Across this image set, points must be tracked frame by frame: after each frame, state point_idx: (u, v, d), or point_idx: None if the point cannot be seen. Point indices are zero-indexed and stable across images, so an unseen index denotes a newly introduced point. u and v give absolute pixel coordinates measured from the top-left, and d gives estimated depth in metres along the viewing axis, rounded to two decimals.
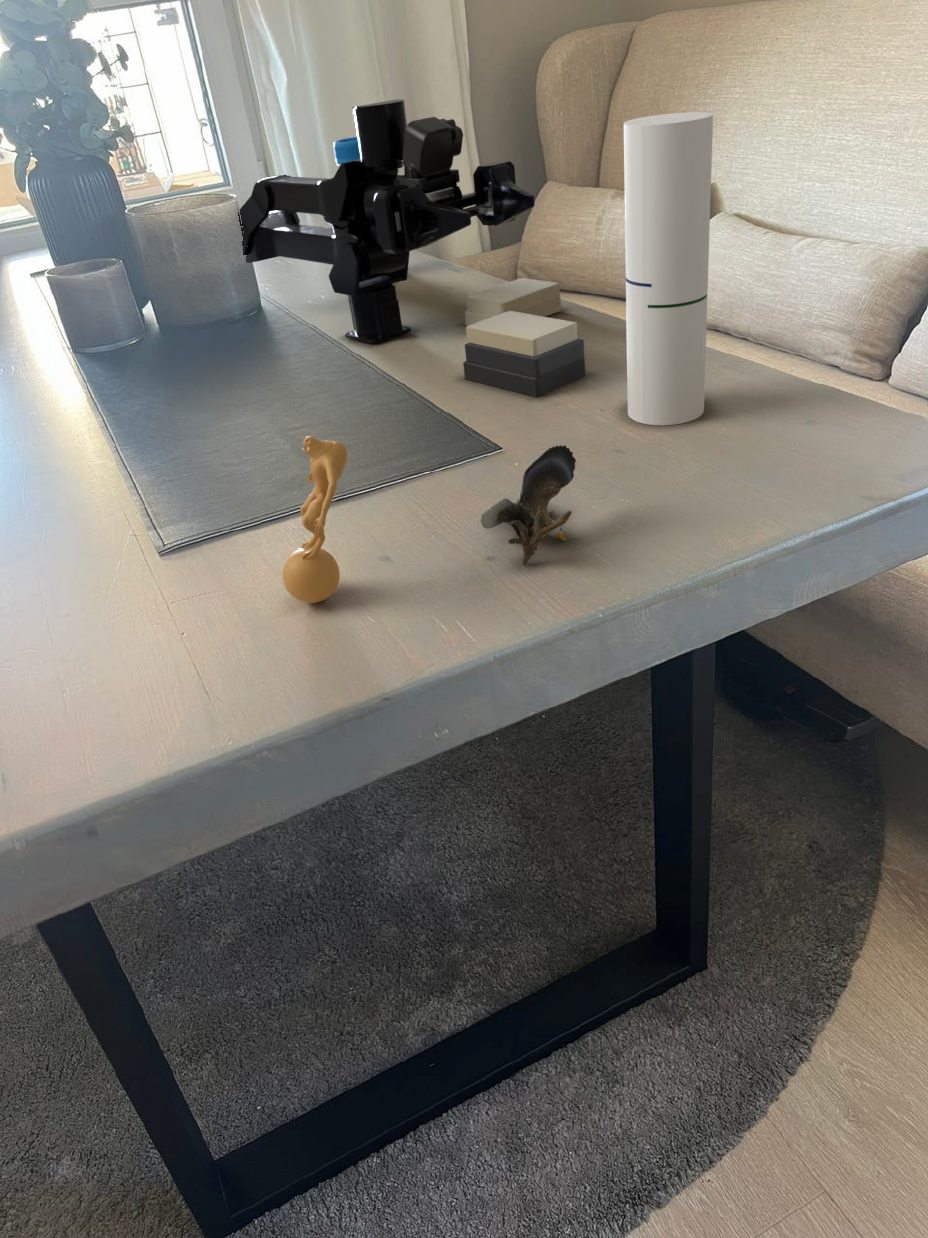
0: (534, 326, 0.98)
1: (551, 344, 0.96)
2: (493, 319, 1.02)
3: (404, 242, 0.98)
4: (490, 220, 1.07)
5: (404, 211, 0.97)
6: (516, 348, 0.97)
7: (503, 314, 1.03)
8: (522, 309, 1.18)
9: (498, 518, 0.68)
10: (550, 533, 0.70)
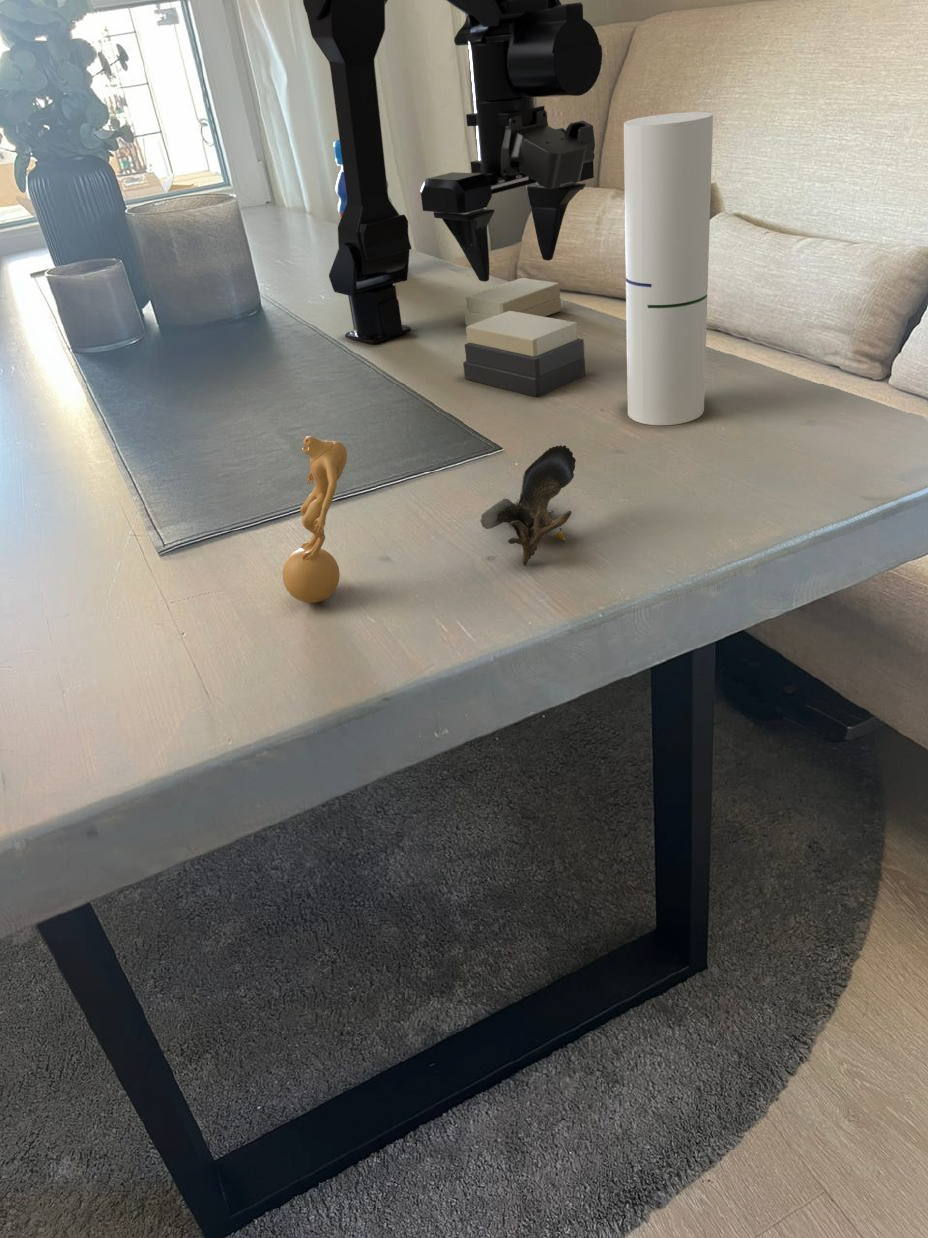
0: (534, 326, 0.98)
1: (551, 344, 0.96)
2: (493, 319, 1.02)
3: (437, 215, 0.90)
4: None
5: None
6: (516, 348, 0.97)
7: (503, 314, 1.03)
8: (522, 309, 1.18)
9: (498, 518, 0.68)
10: (550, 533, 0.70)
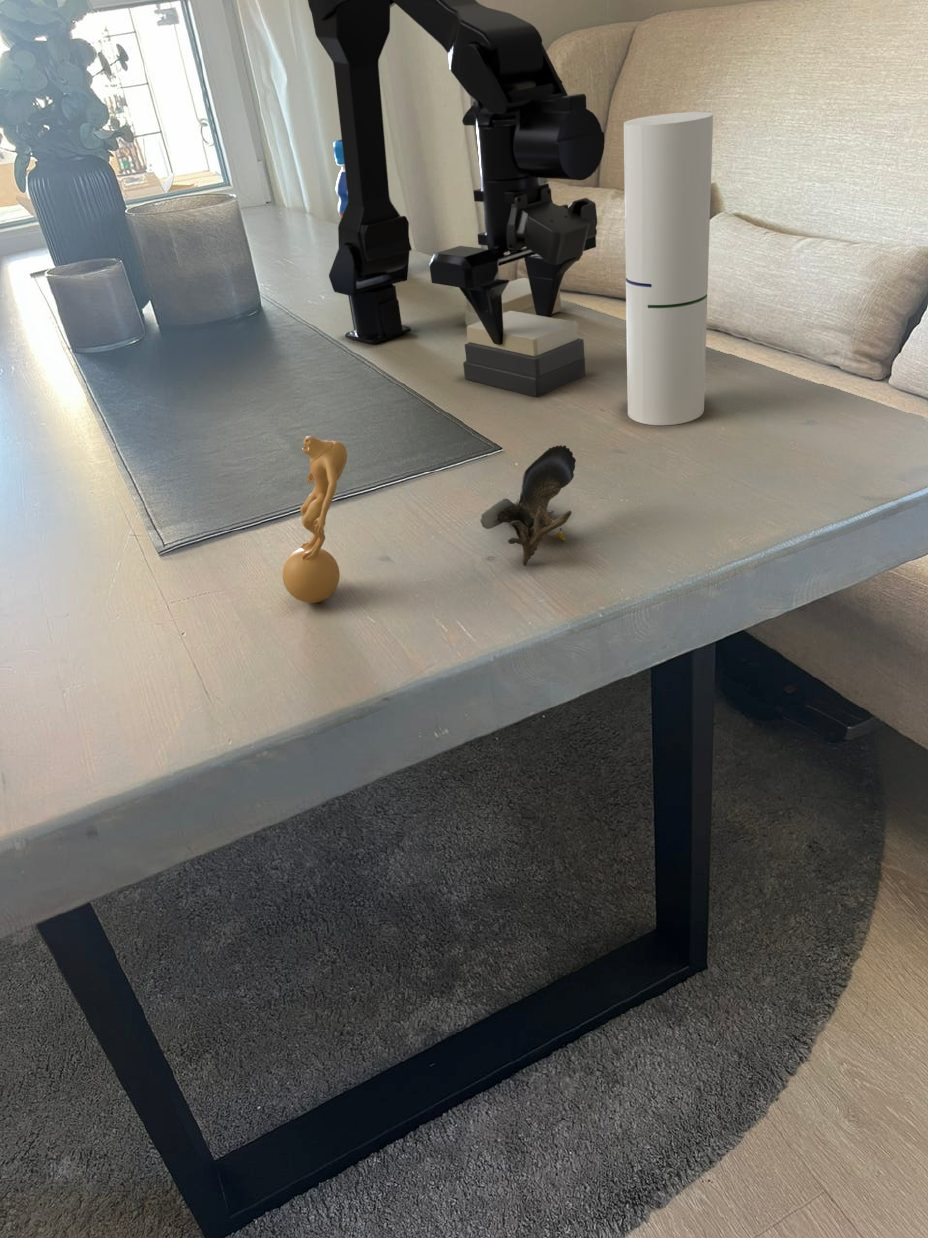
0: (535, 326, 0.98)
1: (551, 344, 0.96)
2: None
3: None
4: None
5: None
6: (516, 348, 0.97)
7: (504, 314, 1.03)
8: (522, 309, 1.18)
9: (498, 518, 0.68)
10: (550, 533, 0.70)
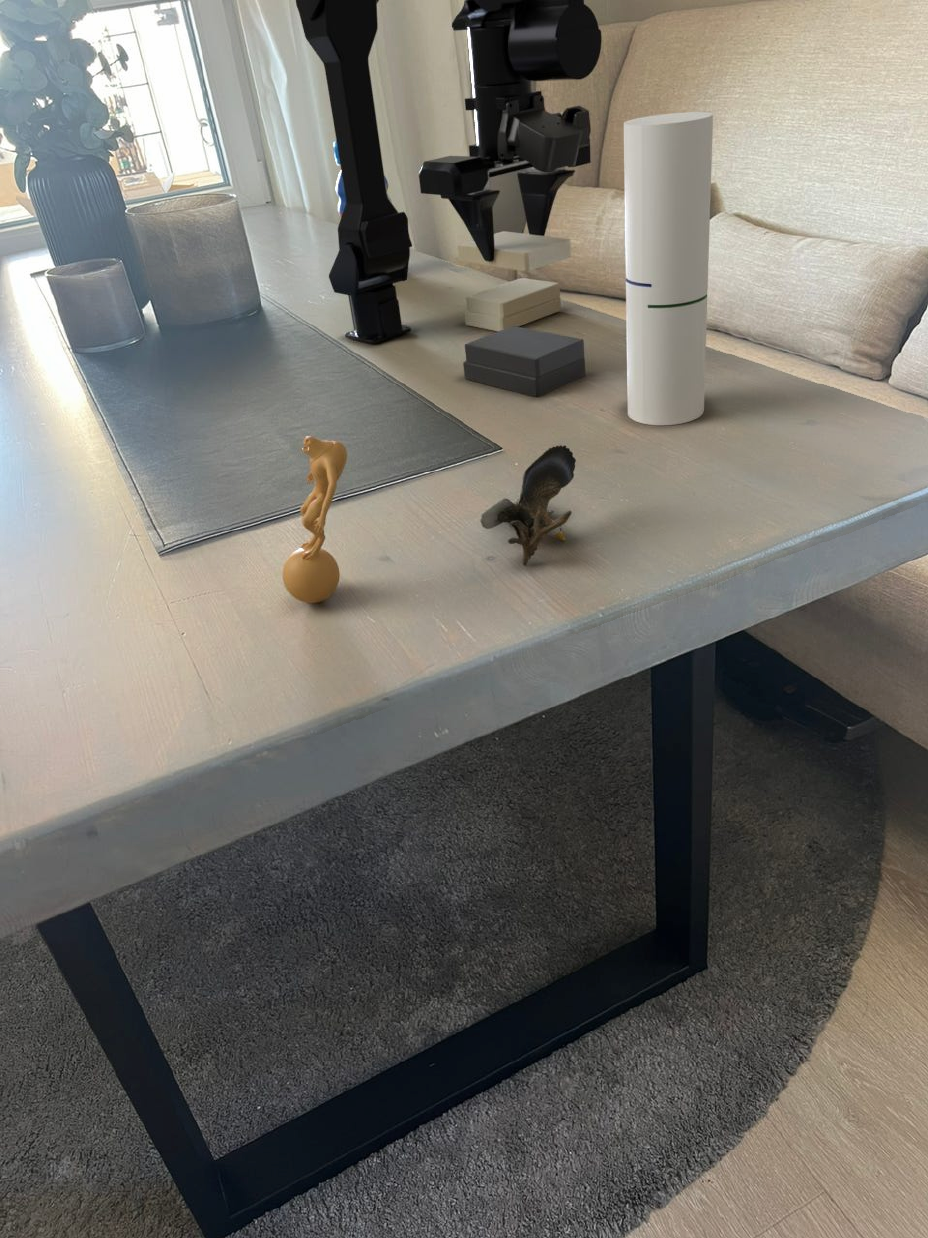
0: (527, 243, 0.96)
1: (543, 260, 0.94)
2: None
3: (443, 195, 0.92)
4: None
5: None
6: (508, 264, 0.95)
7: (496, 234, 1.01)
8: (522, 309, 1.18)
9: (498, 518, 0.68)
10: (550, 533, 0.70)
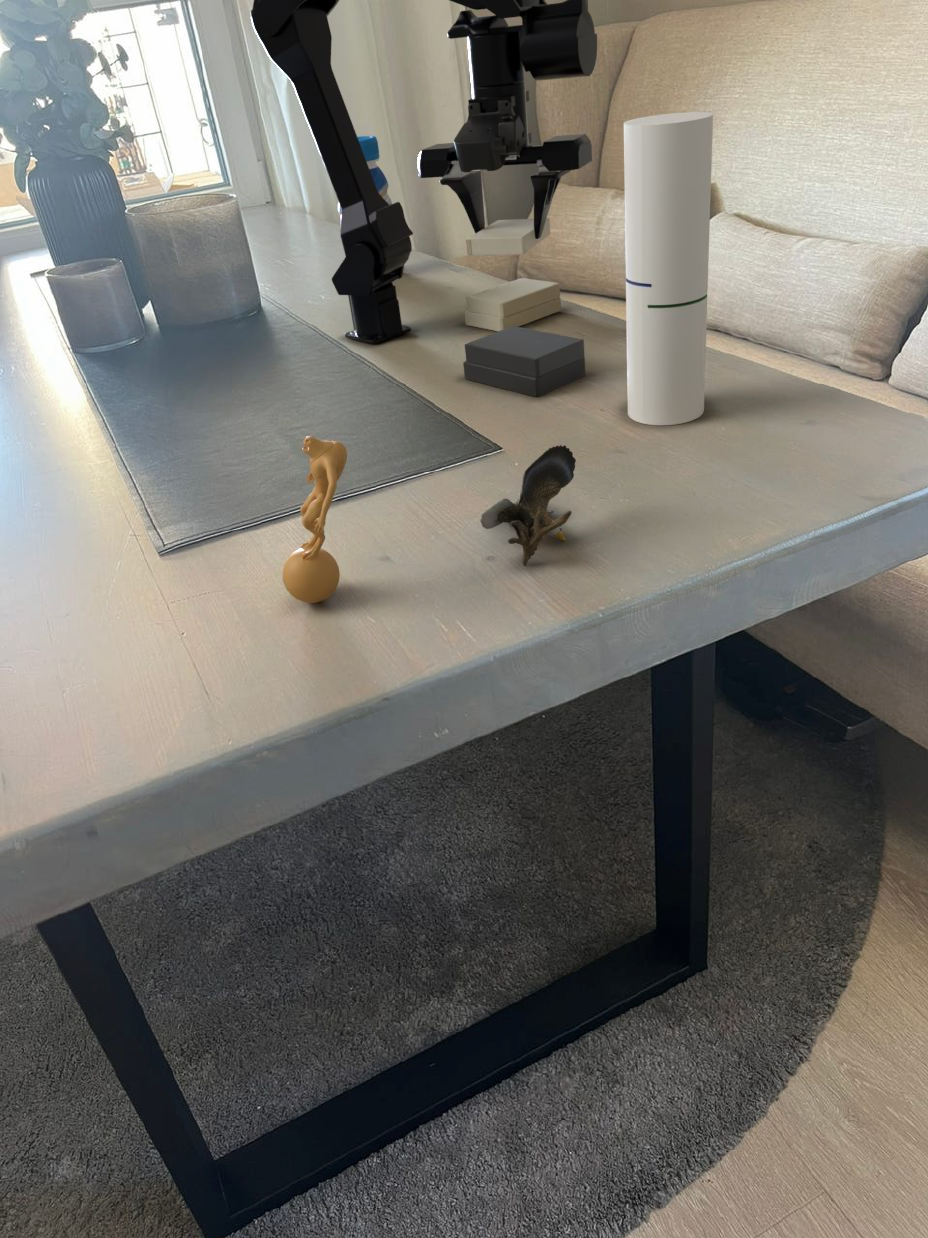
0: (502, 232, 1.06)
1: (488, 249, 1.05)
2: (519, 220, 1.11)
3: None
4: None
5: None
6: None
7: None
8: (522, 309, 1.18)
9: (498, 518, 0.68)
10: (550, 533, 0.70)
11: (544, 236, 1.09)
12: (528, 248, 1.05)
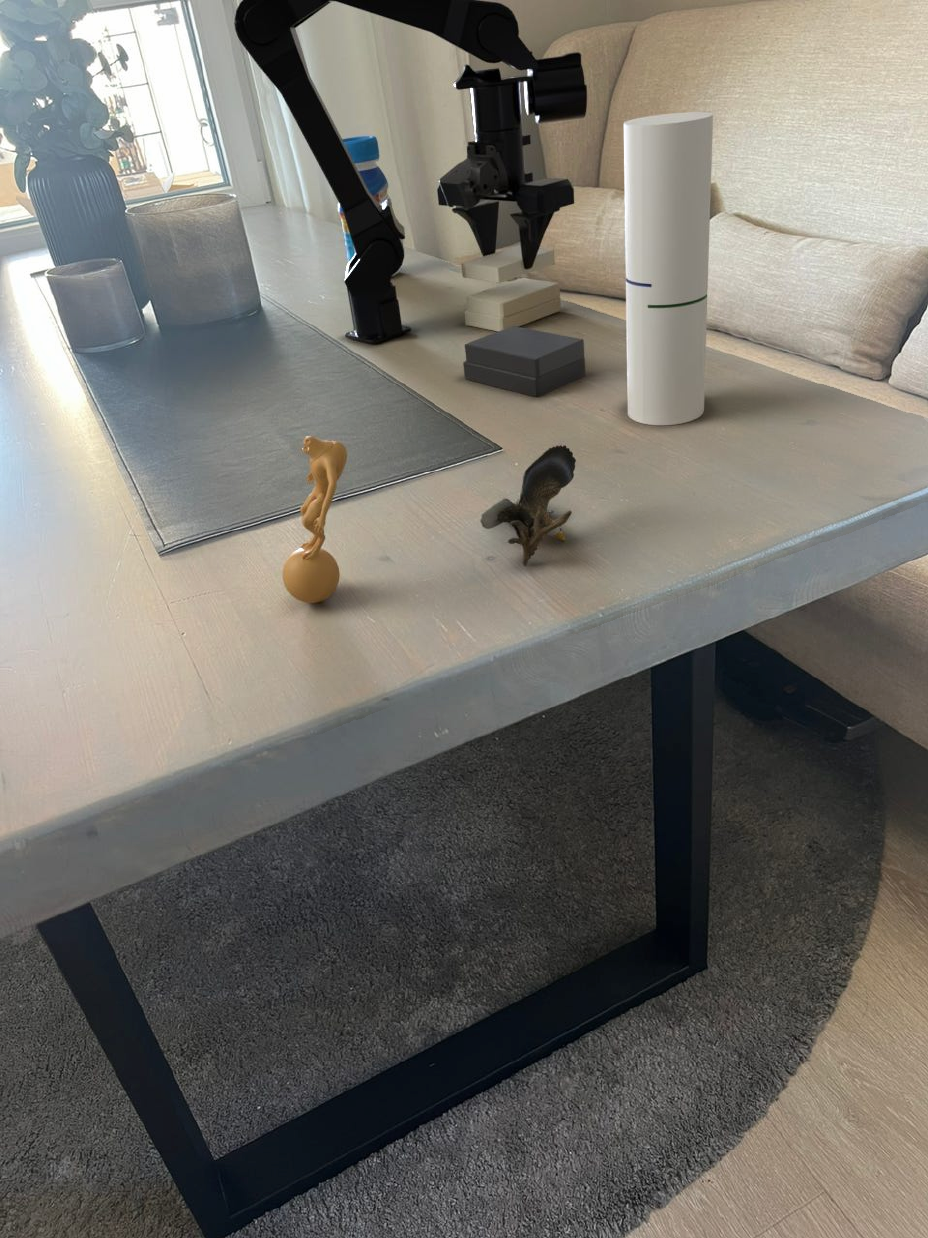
0: (495, 259, 1.18)
1: (476, 275, 1.17)
2: None
3: None
4: None
5: None
6: None
7: (543, 249, 1.20)
8: (522, 309, 1.18)
9: (498, 518, 0.68)
10: (550, 533, 0.70)
11: (542, 266, 1.19)
12: (510, 277, 1.16)
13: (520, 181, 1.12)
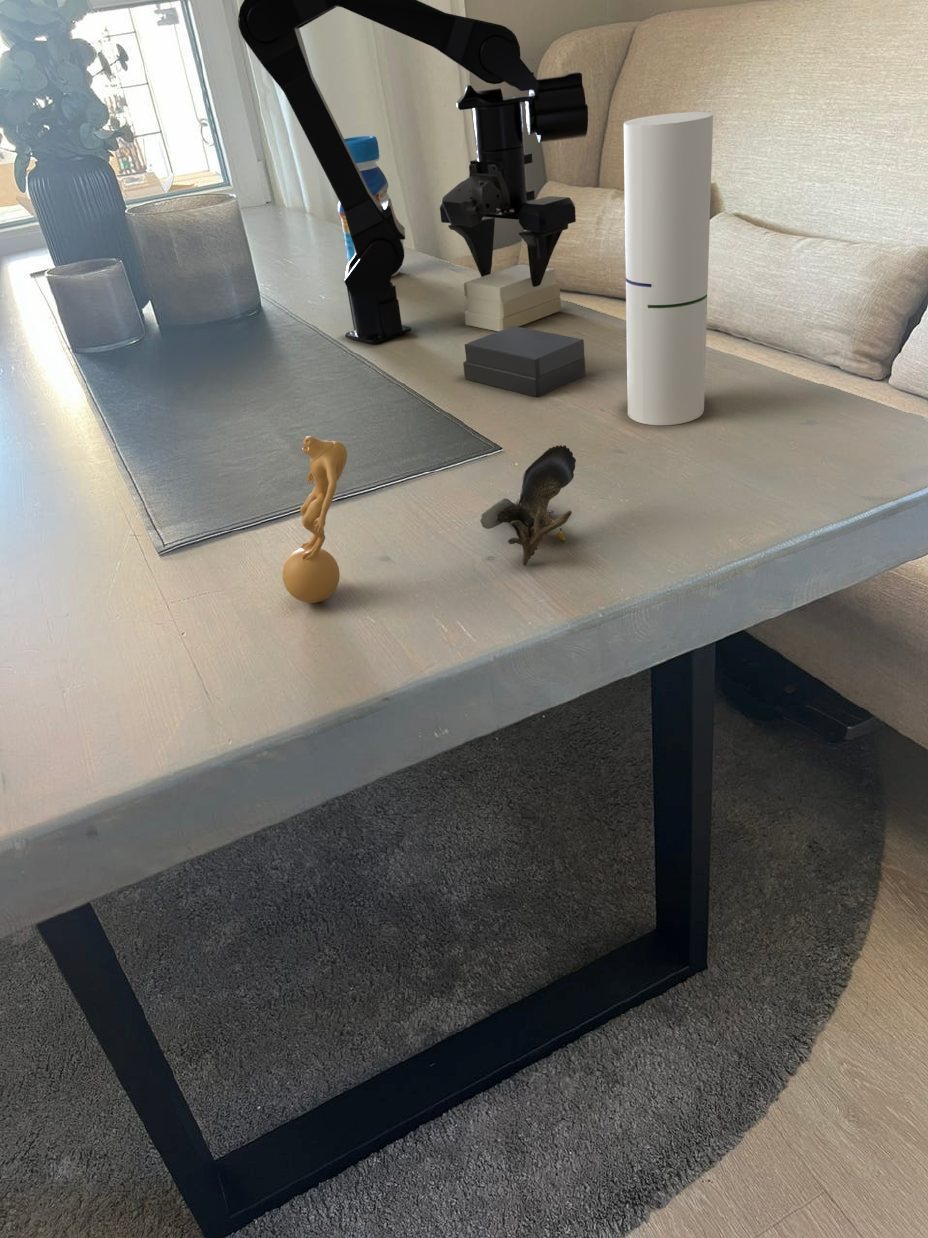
0: (497, 279, 1.19)
1: (478, 294, 1.18)
2: None
3: None
4: None
5: None
6: None
7: None
8: (522, 309, 1.18)
9: (498, 518, 0.68)
10: (550, 533, 0.70)
11: (544, 285, 1.20)
12: (511, 297, 1.17)
13: (522, 199, 1.13)
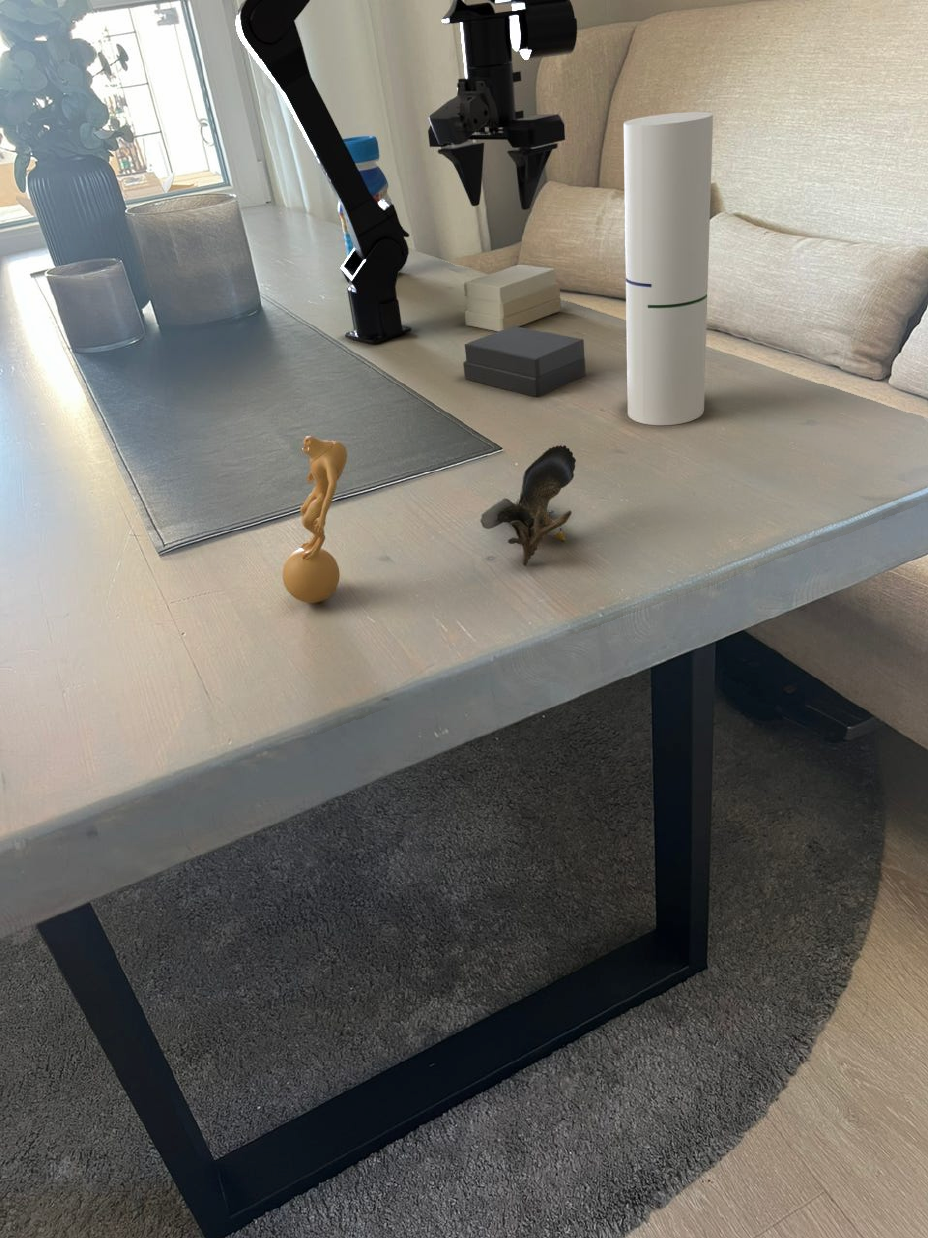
0: (497, 279, 1.19)
1: (478, 294, 1.18)
2: (531, 267, 1.22)
3: None
4: None
5: None
6: None
7: (544, 268, 1.21)
8: (522, 309, 1.18)
9: (498, 518, 0.68)
10: (550, 533, 0.70)
11: (544, 285, 1.20)
12: (511, 297, 1.17)
13: (511, 118, 1.12)
